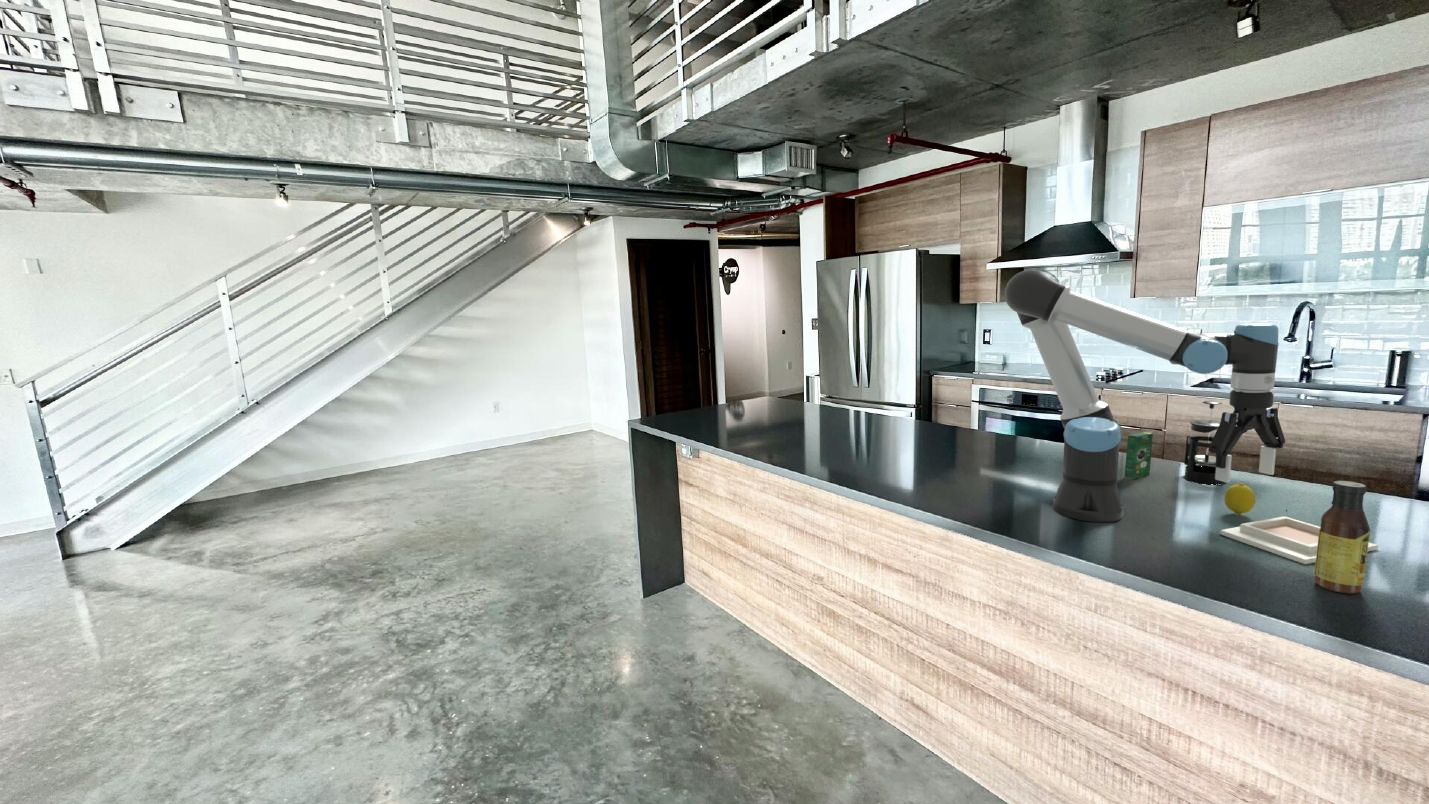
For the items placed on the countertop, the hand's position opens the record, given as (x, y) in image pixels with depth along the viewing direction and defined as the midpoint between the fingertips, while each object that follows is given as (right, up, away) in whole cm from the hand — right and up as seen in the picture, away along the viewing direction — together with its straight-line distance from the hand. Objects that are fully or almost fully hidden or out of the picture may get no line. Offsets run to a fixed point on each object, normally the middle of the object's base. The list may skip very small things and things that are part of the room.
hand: (1244, 477), depth 140 cm
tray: (-1, -12, -14) cm, 18 cm away
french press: (+13, -4, +27) cm, 30 cm away
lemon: (0, -10, +2) cm, 10 cm away
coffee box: (-2, -4, +33) cm, 33 cm away
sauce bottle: (-12, -16, -32) cm, 38 cm away
